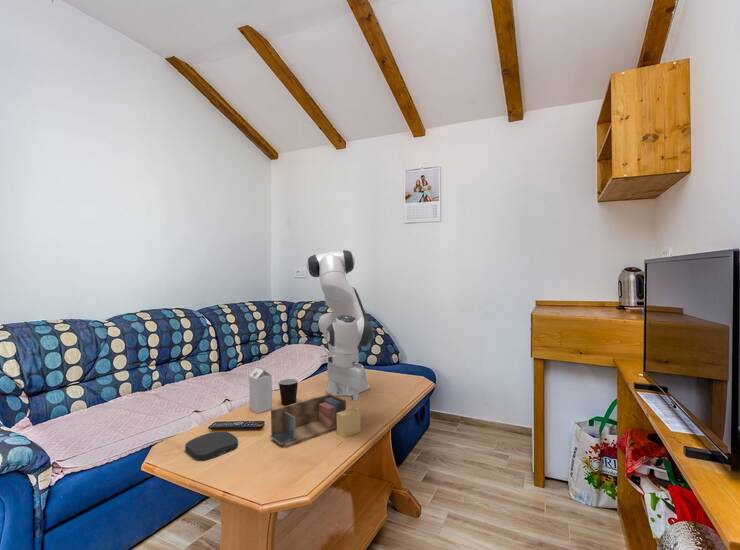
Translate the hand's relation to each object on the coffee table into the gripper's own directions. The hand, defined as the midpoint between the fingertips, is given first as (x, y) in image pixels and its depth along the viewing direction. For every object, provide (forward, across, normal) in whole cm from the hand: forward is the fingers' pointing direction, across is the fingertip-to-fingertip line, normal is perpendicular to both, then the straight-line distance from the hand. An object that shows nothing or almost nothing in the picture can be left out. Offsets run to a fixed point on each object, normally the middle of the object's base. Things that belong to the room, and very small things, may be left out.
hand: (346, 397), depth 138 cm
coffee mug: (+14, +44, 0) cm, 46 cm away
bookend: (+13, +10, +21) cm, 26 cm away
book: (+14, 0, -1) cm, 14 cm away
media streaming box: (+15, +22, +41) cm, 49 cm away
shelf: (+14, +11, +9) cm, 20 cm away
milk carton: (+14, +45, +14) cm, 49 cm away
